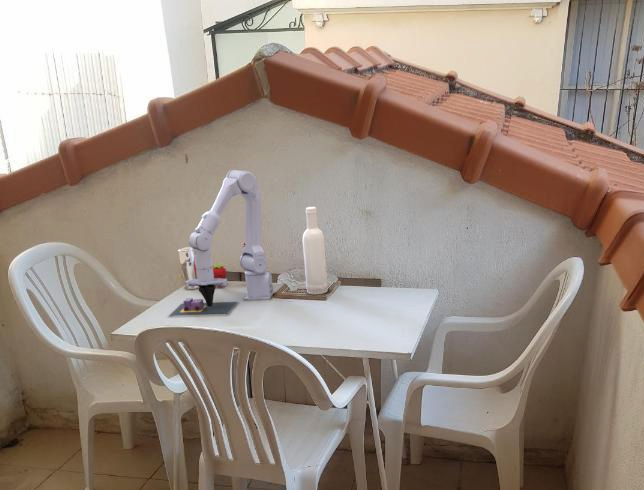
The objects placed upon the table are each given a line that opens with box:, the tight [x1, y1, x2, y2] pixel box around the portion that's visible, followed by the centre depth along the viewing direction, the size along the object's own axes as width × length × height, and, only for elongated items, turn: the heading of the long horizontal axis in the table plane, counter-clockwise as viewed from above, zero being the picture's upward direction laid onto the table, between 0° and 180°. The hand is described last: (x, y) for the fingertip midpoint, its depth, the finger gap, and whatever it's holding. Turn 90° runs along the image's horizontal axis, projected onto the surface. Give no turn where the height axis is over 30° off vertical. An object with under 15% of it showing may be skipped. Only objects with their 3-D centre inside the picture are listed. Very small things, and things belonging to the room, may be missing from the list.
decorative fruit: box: [212, 261, 227, 287], centre depth 271 cm, size 6×8×10 cm
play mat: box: [169, 301, 238, 317], centre depth 247 cm, size 21×14×1 cm, turn 82°
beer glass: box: [178, 246, 199, 290], centre depth 272 cm, size 7×7×15 cm
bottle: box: [302, 206, 329, 295], centre depth 250 cm, size 8×8×30 cm
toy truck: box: [182, 297, 205, 311], centre depth 247 cm, size 6×5×3 cm
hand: (210, 305), depth 247 cm, fingers closed
